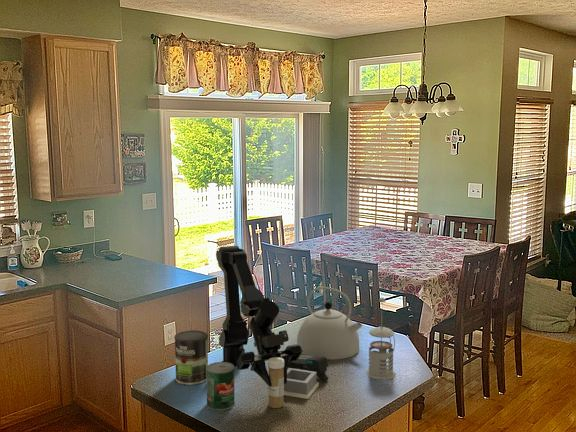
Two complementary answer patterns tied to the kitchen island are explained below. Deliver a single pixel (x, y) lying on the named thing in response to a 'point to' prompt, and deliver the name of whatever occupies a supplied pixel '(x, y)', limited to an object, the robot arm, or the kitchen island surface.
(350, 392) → the kitchen island surface
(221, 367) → the canned tomato
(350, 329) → the kettle
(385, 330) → the french press
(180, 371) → the coffee can
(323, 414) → the kitchen island surface
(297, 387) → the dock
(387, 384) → the kitchen island surface
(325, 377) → the gun
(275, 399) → the sprinkles bottle
